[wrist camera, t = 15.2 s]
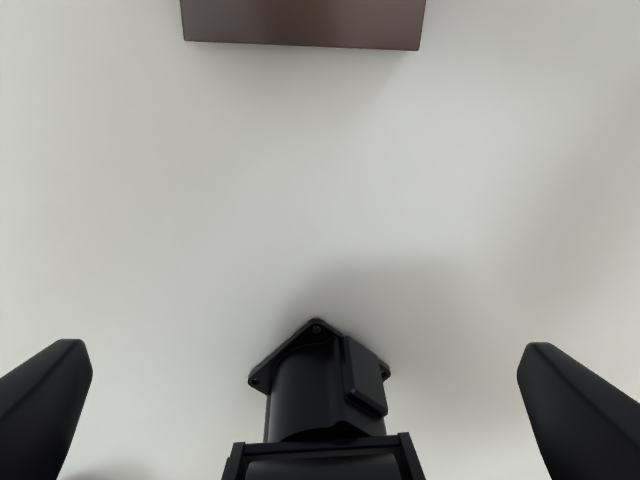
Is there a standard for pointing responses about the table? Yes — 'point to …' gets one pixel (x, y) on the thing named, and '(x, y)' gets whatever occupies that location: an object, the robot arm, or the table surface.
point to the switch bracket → (306, 22)
